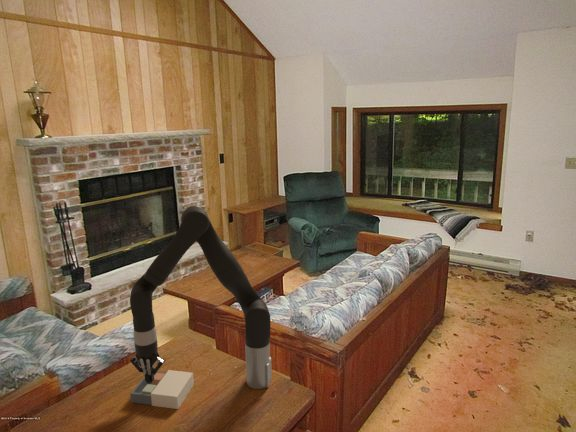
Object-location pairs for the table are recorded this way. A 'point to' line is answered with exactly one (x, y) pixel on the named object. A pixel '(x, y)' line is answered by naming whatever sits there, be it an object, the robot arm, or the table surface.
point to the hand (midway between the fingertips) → (149, 381)
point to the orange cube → (157, 378)
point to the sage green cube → (148, 389)
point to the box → (137, 393)
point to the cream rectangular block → (172, 389)
